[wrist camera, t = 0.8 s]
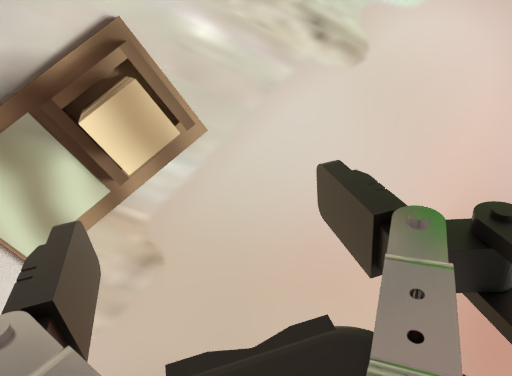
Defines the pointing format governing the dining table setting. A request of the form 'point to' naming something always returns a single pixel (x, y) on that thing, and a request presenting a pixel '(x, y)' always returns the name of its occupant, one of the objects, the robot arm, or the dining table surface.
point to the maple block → (127, 124)
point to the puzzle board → (77, 140)
